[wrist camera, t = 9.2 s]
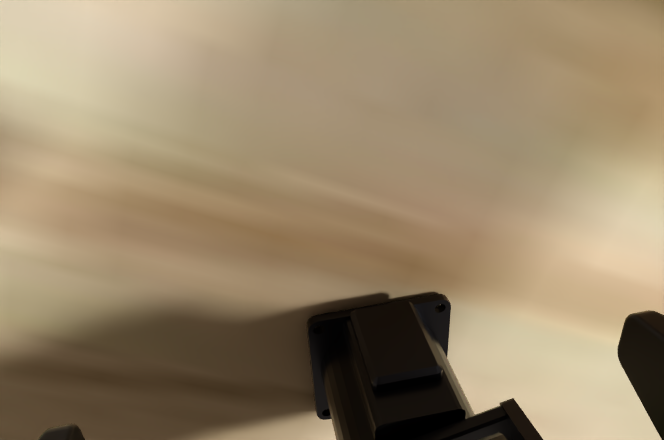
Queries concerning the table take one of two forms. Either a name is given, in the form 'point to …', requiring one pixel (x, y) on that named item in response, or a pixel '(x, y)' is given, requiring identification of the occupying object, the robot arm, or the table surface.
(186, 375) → the table surface
